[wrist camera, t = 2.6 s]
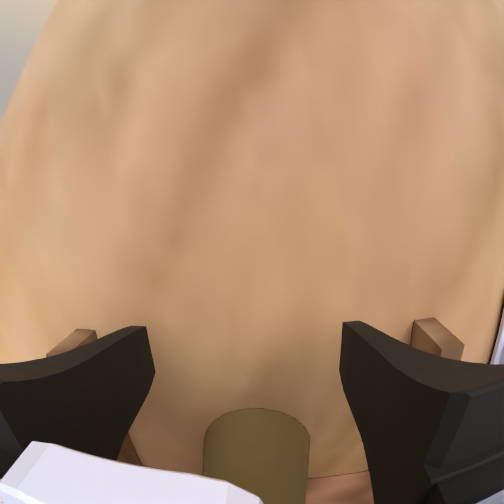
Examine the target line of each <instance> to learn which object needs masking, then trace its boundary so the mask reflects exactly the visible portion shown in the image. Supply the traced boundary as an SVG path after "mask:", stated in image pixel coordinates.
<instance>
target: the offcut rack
mask: <svg viewBox="0 0 504 504" xmlns="http://www.w3.org/2000/svg"><path fill="white" fill-rule="evenodd" d="M95 340H97V337H96V333H95V330H85V329H76V330H75V331H74V332H73V333H71V334H70V335H69V336H68V337H67V338H65V339H64V340H63V341H62V342H60V343H59V344H58V345H57V346H56V347H54V348H53V349H52V350H51V351H50V352H49V353H47V354H46V356H47V357H50V356H54V355H57V354H61V353H64V352H67V351H70V350H72V349H75V348H77V347H80V346H82V345H85V344H88V343H90V342H92V341H95ZM410 346H412V347H414V348H416V349H419V350H422V351H425V352H428V353H431V354H434V355H437V356H441V357H445V358H449V359H454V360H459V361H461V357H462V353H463V349H464V344H463V343H462V342H461V341H460V340H459V339H458V338H457V337H456V336H454V335H453V334H452V333H451V332H450V331H449V330H448V329H447V328H446V327H444V326H443V325H442V324H441V323H440V322H439V321H438V320H437V319H435V318H429V319H422V320H414V325H413V332H412V338H411V344H410ZM117 461H119V462H123V463H128V464H133V465H138V466H142V465H141V463H140V461H139V458H138V456H137V454H136V451H135V449H134V447H133V444H132V442H131V440H130V437H129V435H128V432H127V435H126V437H125V439H124V441H123V444H122V447H121V450H120V452H119V455H118V458H117ZM305 504H374V499H373V492H372V485H371V479H370V474H369V471H365V472H359V473H353V474H347V475H339V476H332V477H323V478H313V479H307V490H306V501H305Z"/></svg>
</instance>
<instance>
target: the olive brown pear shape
mask: <svg viewBox="0 0 504 504" xmlns="http://www.w3.org/2000/svg"><path fill="white" fill-rule="evenodd" d="M309 447H310V436H309V434H308V432H307V430H306V428H305V426H303V425H302V424H301V423H300V422H299V421H297V420H296V419H295V418H293V417H291V416H289V415H286V414H284V413H282V412H279V411H273V410H267V409H262V408H260V409H242V410H238V411H234V412H230V413H226V414H225V415H223V416H221V417H219V418H218V419H216V420H214V421H213V423H212V424H211V425H210V426H209V427H208V429H207V430H206V434H205V439H204V454H203V476H206V477H210V478H215V479H220V480H226V481H228V482H230V483H232V484H234V485H236V486H238V487H240V488H242V489H244V490H246V491H248V492H251V493H253V494H255V495H256V496H258V497H259V498H260V499H261V501H262V502H263V504H305V501H306V490H307V477H308V463H309Z"/></svg>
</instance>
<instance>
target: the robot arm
mask: <svg viewBox="0 0 504 504" xmlns="http://www.w3.org/2000/svg"><path fill="white" fill-rule="evenodd" d="M339 371H340V376H341V381H342V385H343V390H344V393H345V396H346V398H347V401H348V404H349V406H350V409H351V411H352V414H353V417H354V419H355V422H356V425H357V427H358V430H359V432H360V435H361V438H362V442H363V445H364V449H365V454H366V459H367V463H368V468H369V474H370V479H371V485H372V492H373V499H374V504H504V309H503V314H502V319H501V324H500V328H499V332H498V336H497V340H496V344H495V348H494V351H493V355H492V358H491V362H490V364H481V363H471V362H464V361H459V360H454V359H449V358H445V357H441V356H437V355H434V354H431V353H428V352H425V351H422V350H419V349H416V348H414V347H412V346H409V345H407V344H405V343H403V342H400V341H398V340H396V339H394V338H392V337H390V336H388V335H387V334H385V333H383V332H381V331H379V330H377V329H375V328H373V327H372V326H370V325H368V324H366V323H364V322H361V321H351V322H343V327H342V342H341V355H340V367H339ZM154 375H155V368H154V363H153V359H152V354H151V349H150V344H149V339H148V334H147V329H146V326H130V327H126V328H123V329H120V330H118V331H115V332H113V333H111V334H108V335H106V336H104V337H102V338H99V339H97V340H95V341H92V342H90V343H88V344H85V345H82V346H80V347H77V348H75V349H72V350H70V351H67V352H64V353H61V354H57V355H54V356H50V357H46V358H42V359H37V360H31V361H26V362H19V363H10V364H0V504H263V502H262V501H261V499H260V498H259V497H258V496H256V495H255V494H253V493H251V492H248V491H246V490H244V489H242V488H240V487H238V486H236V485H234V484H232V483H230V482H228V481H226V480H220V479H215V478H210V477H206V476H201V475H197V474H192V473H185V472H177V471H169V470H162V469H156V468H149V467H144V466H138V465H133V464H128V463H123V462H119V461H117V458H118V455H119V452H120V450H121V447H122V444H123V441H124V439H125V437H126V435H127V432H128V431H129V429H130V427H131V425H132V423H133V421H134V419H135V417H136V416H137V414H138V412H139V410H140V408H141V406H142V404H143V402H144V401H145V399H146V397H147V395H148V393H149V390H150V387H151V385H152V382H153V378H154Z"/></svg>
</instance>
